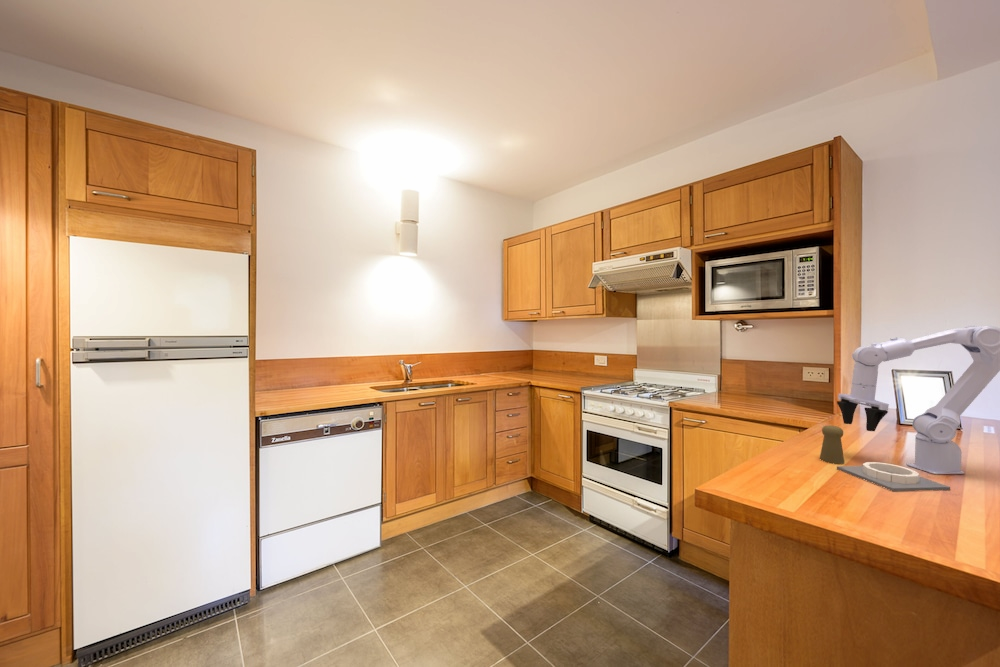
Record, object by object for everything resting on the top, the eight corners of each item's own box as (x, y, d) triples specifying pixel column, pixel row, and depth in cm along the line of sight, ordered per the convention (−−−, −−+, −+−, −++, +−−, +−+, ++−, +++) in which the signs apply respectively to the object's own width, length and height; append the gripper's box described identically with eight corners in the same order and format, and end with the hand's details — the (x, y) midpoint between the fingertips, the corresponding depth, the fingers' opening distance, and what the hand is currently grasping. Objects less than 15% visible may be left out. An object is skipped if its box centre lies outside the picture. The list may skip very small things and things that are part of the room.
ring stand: (887, 468, 121) (887, 458, 120) (950, 490, 105) (950, 479, 105) (836, 469, 120) (837, 459, 119) (892, 491, 104) (893, 480, 103)
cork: (835, 458, 130) (835, 424, 129) (849, 464, 124) (850, 428, 123) (815, 457, 130) (815, 423, 130) (828, 463, 124) (829, 428, 124)
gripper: (831, 379, 133) (826, 420, 134) (875, 388, 119) (869, 433, 119) (851, 381, 134) (846, 421, 134) (897, 389, 119) (891, 434, 120)
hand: (858, 427), depth 127 cm, fingers open, 7 cm apart
